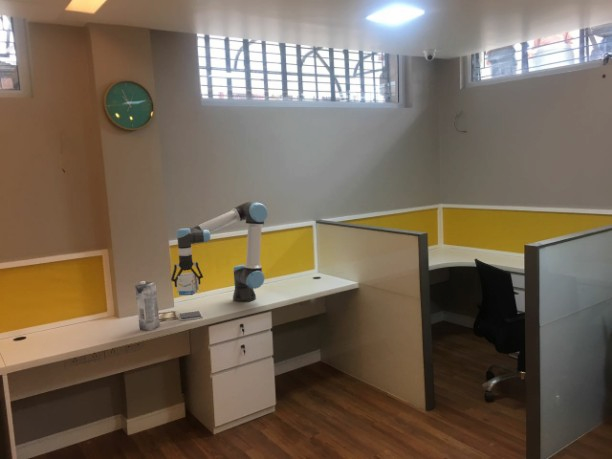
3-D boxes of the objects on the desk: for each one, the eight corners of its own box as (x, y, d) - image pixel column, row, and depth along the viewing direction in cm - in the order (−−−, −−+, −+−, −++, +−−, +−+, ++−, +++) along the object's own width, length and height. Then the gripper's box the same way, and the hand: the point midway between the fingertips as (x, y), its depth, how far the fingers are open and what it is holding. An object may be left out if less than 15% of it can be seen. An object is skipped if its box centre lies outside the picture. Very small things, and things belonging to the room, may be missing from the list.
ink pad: (200, 312, 328) (199, 310, 328) (202, 317, 316) (202, 315, 316) (178, 315, 324) (178, 313, 323) (180, 321, 312) (180, 318, 312)
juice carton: (162, 325, 305) (157, 279, 301) (149, 331, 296) (145, 284, 292) (149, 324, 309) (145, 278, 305) (137, 330, 299) (132, 283, 296)
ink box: (192, 295, 313) (190, 275, 311) (178, 295, 315) (177, 275, 313) (197, 291, 321) (196, 272, 320) (184, 291, 323) (183, 272, 322)
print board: (176, 312, 331) (176, 310, 330) (178, 319, 316) (178, 317, 316) (149, 316, 326) (149, 314, 325) (150, 323, 311) (150, 320, 311)
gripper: (204, 251, 322) (207, 287, 325) (164, 255, 315) (167, 292, 318) (206, 253, 315) (208, 289, 318) (165, 257, 308) (168, 294, 311)
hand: (188, 290), depth 318 cm, fingers closed on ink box, 11 cm apart
